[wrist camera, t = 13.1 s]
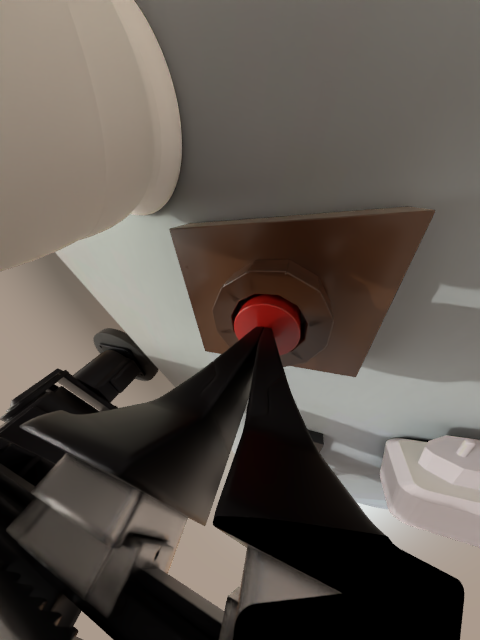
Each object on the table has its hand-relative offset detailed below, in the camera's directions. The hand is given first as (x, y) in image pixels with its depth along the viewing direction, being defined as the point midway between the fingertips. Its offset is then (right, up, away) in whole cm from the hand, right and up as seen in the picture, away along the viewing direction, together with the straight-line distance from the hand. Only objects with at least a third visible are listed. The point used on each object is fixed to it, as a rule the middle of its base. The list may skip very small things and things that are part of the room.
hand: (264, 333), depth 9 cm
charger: (+19, -12, +8) cm, 24 cm away
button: (+1, +1, +1) cm, 2 cm away
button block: (+1, +3, +3) cm, 4 cm away
